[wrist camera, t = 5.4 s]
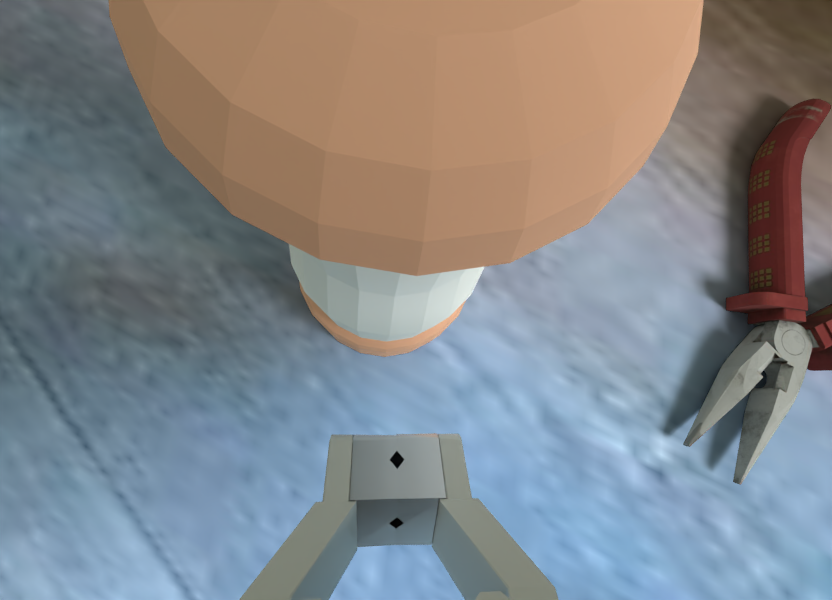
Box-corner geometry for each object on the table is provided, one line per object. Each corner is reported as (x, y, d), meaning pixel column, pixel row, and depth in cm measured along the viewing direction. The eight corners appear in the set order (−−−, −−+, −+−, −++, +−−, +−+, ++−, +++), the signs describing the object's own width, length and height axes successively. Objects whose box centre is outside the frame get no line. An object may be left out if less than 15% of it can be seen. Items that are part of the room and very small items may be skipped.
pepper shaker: (369, 182, 23) (346, -790, 4) (487, 266, 22) (1075, -321, 4) (276, 296, 21) (-486, -357, 2) (401, 387, 21) (637, 455, 2)
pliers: (599, 389, 22) (629, 391, 20) (775, 108, 26) (819, 79, 24) (788, 531, 22) (843, 551, 19) (937, 225, 26) (999, 208, 23)
